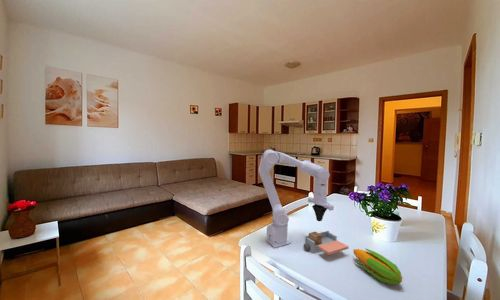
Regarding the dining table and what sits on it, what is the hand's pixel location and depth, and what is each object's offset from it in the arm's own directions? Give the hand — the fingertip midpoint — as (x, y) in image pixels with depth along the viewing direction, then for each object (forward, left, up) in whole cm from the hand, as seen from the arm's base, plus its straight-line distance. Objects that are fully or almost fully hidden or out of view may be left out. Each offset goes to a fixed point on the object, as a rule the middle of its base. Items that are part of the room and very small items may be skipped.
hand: (319, 220), depth 103 cm
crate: (-7, -5, -7) cm, 11 cm away
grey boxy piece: (-3, -5, -10) cm, 12 cm away
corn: (+1, -26, -11) cm, 28 cm away
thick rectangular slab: (-3, -8, -7) cm, 12 cm away
